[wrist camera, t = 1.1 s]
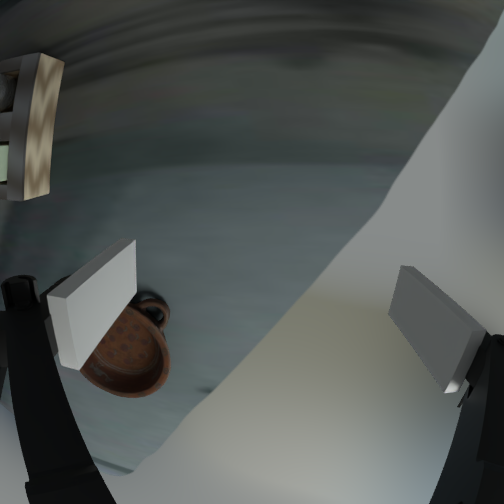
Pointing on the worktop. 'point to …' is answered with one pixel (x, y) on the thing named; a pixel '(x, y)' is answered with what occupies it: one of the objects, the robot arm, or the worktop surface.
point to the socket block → (29, 124)
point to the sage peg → (3, 162)
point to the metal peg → (7, 90)
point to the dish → (132, 353)
